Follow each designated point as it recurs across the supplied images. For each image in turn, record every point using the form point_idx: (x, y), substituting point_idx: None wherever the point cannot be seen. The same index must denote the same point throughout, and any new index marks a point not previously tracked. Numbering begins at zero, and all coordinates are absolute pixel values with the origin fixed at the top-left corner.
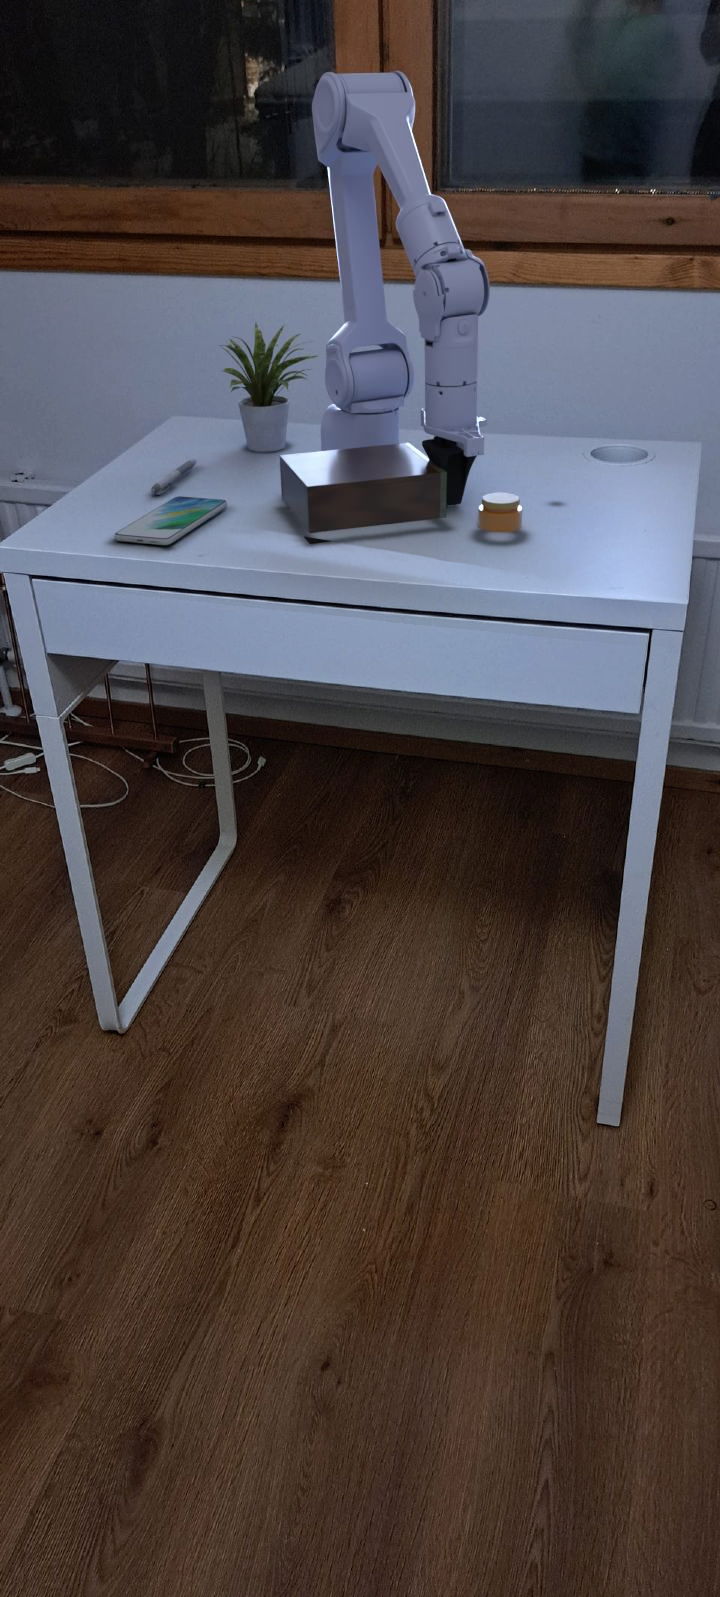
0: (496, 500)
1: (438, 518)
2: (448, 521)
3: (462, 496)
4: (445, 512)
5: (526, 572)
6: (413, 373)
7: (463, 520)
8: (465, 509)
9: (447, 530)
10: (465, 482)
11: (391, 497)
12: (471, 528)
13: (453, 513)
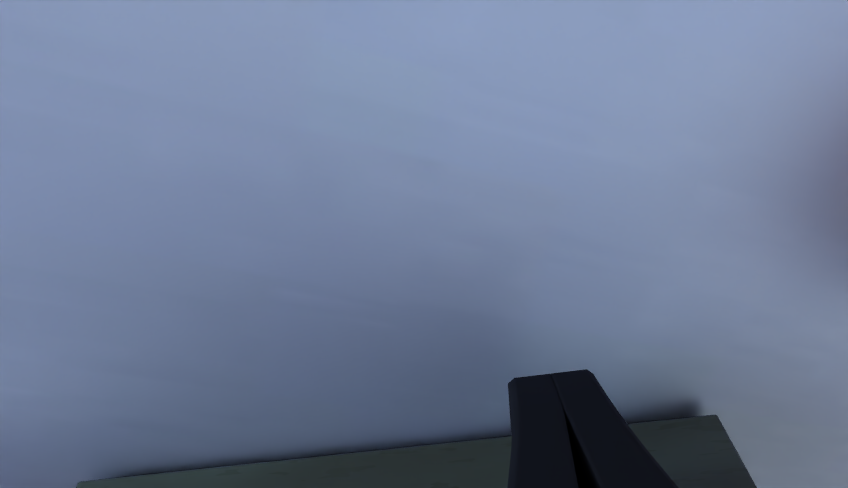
0: None
1: None
2: (597, 370)
3: (608, 400)
4: (751, 479)
5: None
6: None
7: (614, 298)
8: (403, 245)
9: (736, 397)
10: (677, 486)
11: None
12: (772, 287)
13: (464, 323)
